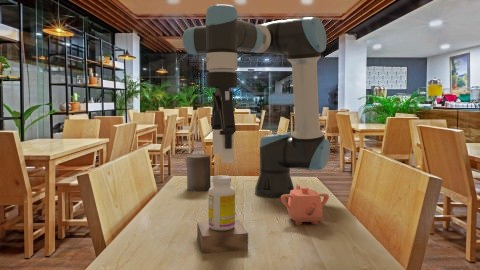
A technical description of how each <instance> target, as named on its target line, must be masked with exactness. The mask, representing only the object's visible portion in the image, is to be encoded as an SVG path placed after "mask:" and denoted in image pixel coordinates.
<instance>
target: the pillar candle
mask: <svg viewBox="0 0 480 270" xmlns="http://www.w3.org/2000/svg"><path fill="white" fill-rule="evenodd" d="M211 181H212V180H211V155H210V154H206V153H205V154H204V153H200V152H198V153H197V154H189V155H186V188H187V190H188V191H191V192H201V191H209V189H210V187H212V186H211V183H212V182H211Z"/></svg>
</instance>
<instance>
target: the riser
mask: <svg viewBox="0 0 480 270" xmlns="http://www.w3.org/2000/svg"><path fill="white" fill-rule="evenodd" d="M196 226H197V227H196V229H197V231H196V232H197V234H196V236H197V241H198V243H199V246H200V249H201V251H202V253H203V254H205V253H217V252H230V251H231V252H233V251H244V250H245V251H246V250H249V232H248V231H247V229H246V228H245V227H244V226H243V224H242V223H241V221H240V220H239V219H235V226H234V228H233V229H230V230H226V231H217V230H213V229H211V228H210V227H209V221H197V224H196Z"/></svg>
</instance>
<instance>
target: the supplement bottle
mask: <svg viewBox="0 0 480 270" xmlns="http://www.w3.org/2000/svg"><path fill="white" fill-rule="evenodd" d="M211 181H212V182H211V183H212V186H211V187H210V189H209V190H208V222H209V227H210V228H211V229H213V230H217V231H226V230H230V229H233V228H234V226H235V220H236V190H235V188H234V187H233V186H232V185H231V182H232V177H231V175H224V174H223V175H214V176H212V180H211Z"/></svg>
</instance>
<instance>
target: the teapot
mask: <svg viewBox="0 0 480 270" xmlns="http://www.w3.org/2000/svg"><path fill="white" fill-rule="evenodd" d="M295 187H296V189H294V190H291V191H290V194H285V195H282V196H281V197H280V201H281V203H282V204H283V205H284V206H285V207H286V208H287V213H288V216H289V218H290V220H293V221H295V225H297V226H302V225H303V222H304V223H309V222H310V223H311V225H318V224H319V222H321V221H322V219H323V216H324V215H323V212H324V211H323V210H324V209H323V207H324V206H325V204H327V202H328V201H329V199H330V196H329V194H328V193H318V192H317V191H316V190H313V189H310V188H309V187H307V186H306V187H305V186H304V187H301V186H300V184H299V183H296V184H295ZM286 198H287V199H288V202H287V199H286ZM322 198H323V199H322Z"/></svg>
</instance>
